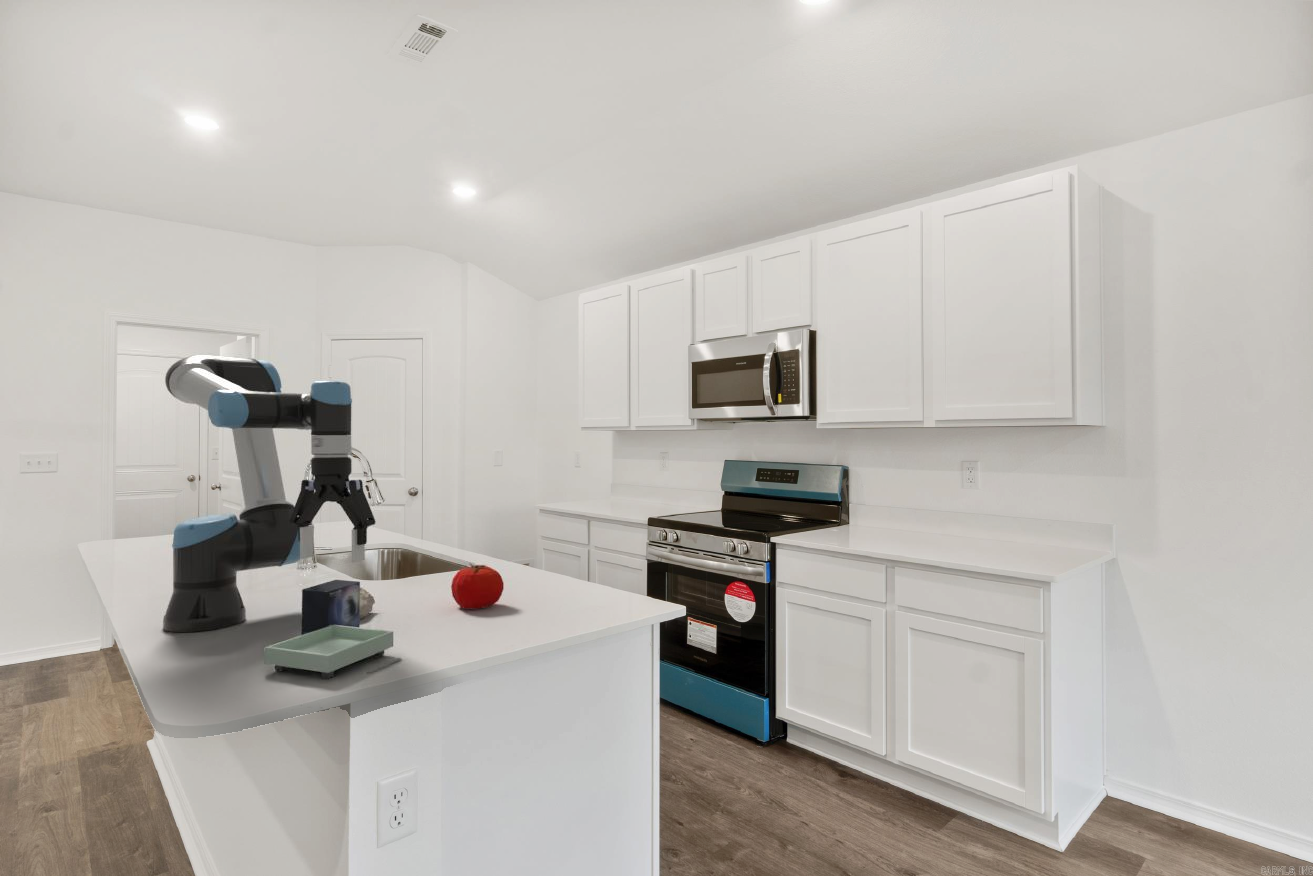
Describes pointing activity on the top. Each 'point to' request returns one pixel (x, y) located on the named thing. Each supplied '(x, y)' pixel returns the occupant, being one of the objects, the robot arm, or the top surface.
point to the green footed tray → (328, 649)
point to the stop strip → (384, 665)
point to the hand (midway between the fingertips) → (332, 559)
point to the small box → (330, 605)
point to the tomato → (477, 587)
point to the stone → (365, 603)
